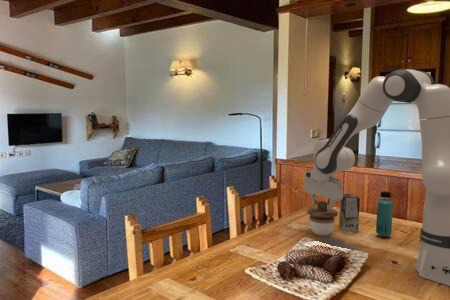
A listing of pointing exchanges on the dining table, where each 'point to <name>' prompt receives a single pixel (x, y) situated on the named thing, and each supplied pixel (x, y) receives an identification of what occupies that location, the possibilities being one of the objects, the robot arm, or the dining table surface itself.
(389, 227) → the beverage bottle
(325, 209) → the lid
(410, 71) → the robot arm
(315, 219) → the lidded jar
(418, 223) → the dining table surface
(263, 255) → the dining table surface
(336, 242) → the mat
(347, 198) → the coffee box
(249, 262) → the dining table surface
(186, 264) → the dining table surface
